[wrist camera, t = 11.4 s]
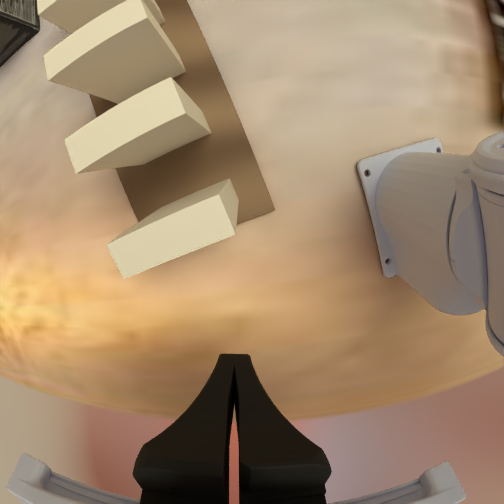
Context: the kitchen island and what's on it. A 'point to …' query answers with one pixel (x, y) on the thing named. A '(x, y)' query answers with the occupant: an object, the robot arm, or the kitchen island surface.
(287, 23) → the kitchen island surface
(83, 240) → the kitchen island surface
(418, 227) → the robot arm
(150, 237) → the domino
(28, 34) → the small box
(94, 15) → the domino
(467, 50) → the kitchen island surface
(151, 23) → the domino
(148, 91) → the domino
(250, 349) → the kitchen island surface
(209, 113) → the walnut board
